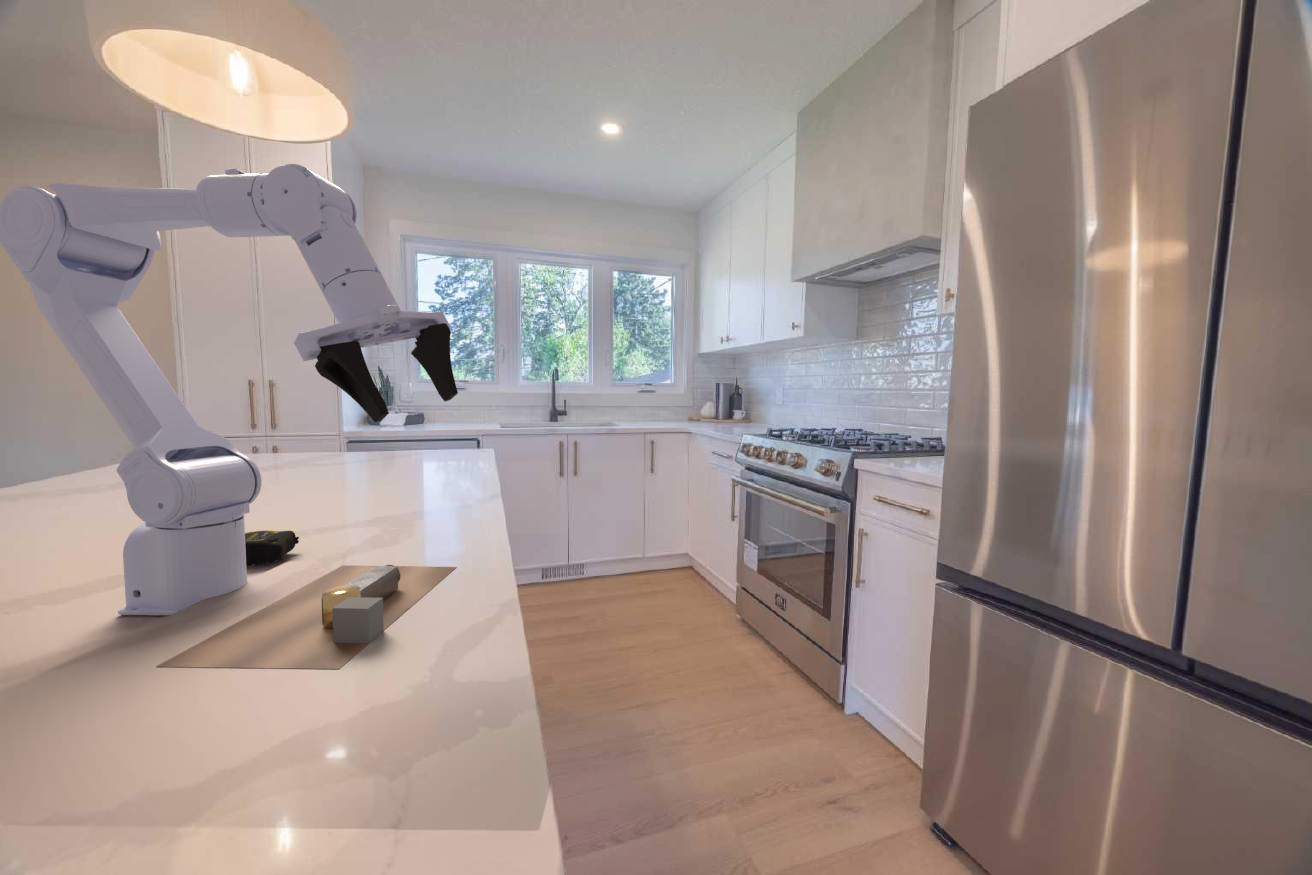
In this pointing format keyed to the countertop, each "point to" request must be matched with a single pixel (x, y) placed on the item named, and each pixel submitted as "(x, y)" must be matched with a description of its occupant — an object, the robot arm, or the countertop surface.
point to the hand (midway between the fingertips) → (418, 407)
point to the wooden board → (302, 626)
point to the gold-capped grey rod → (361, 589)
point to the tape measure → (268, 546)
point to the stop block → (357, 620)
